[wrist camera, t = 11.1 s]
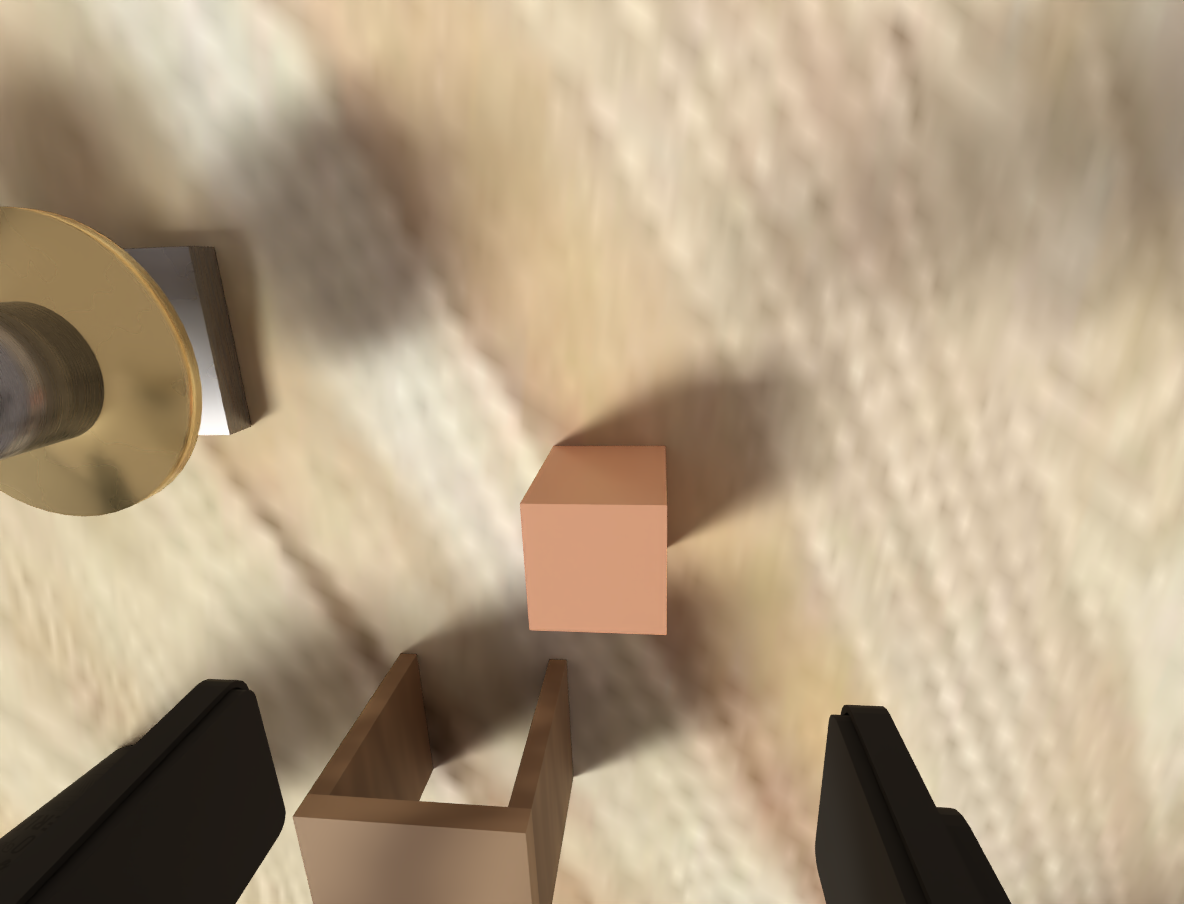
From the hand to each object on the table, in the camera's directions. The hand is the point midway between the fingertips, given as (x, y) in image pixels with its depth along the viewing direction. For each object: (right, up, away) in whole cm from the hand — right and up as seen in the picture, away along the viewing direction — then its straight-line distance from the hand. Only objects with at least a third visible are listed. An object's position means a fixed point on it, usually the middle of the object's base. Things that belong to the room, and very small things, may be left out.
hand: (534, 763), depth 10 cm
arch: (-3, -6, +16) cm, 18 cm away
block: (+2, +3, +12) cm, 13 cm away
